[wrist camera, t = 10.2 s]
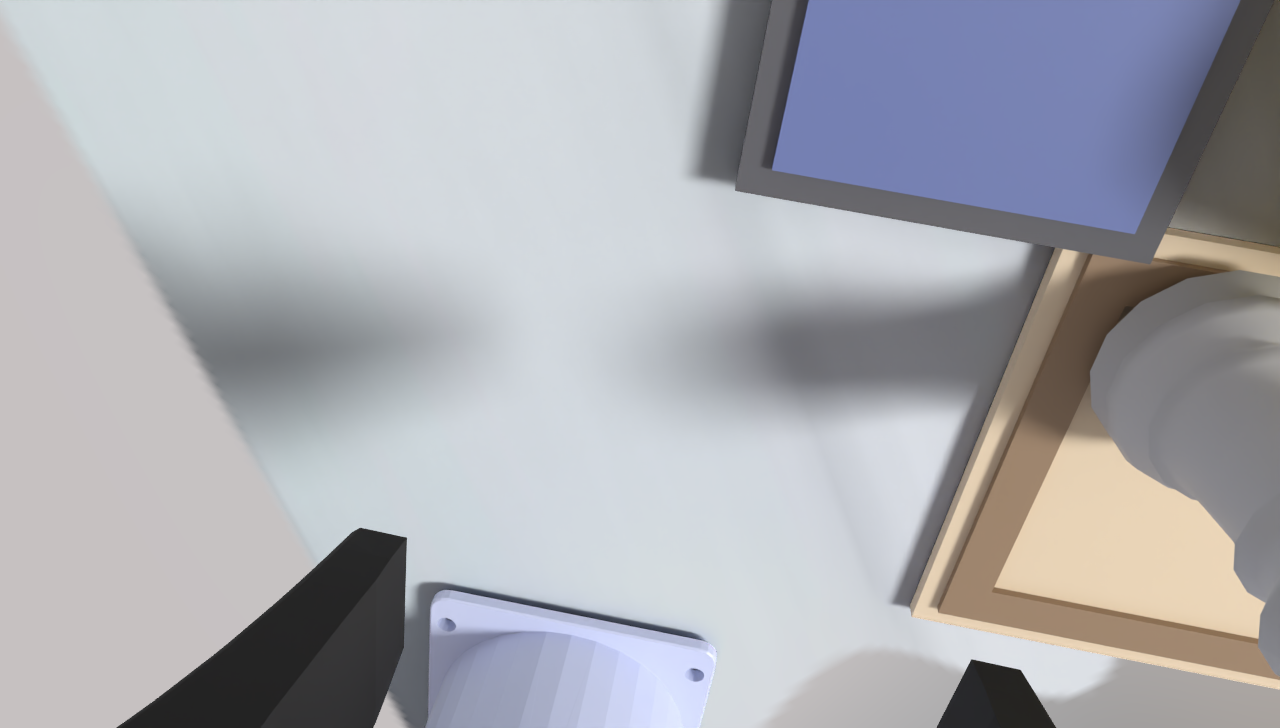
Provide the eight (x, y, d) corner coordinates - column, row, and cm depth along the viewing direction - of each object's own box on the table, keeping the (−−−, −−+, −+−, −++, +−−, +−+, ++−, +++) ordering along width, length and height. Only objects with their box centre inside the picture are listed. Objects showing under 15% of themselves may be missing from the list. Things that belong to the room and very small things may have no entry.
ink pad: (1137, 247, 18) (1153, 268, 18) (737, 176, 19) (734, 194, 18) (1354, -228, 14) (1390, -230, 13) (832, -308, 15) (835, -314, 14)
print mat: (1344, 691, 24) (1356, 710, 23) (909, 605, 24) (912, 622, 24) (1651, 312, 18) (1676, 327, 17) (1070, 210, 18) (1078, 222, 18)
